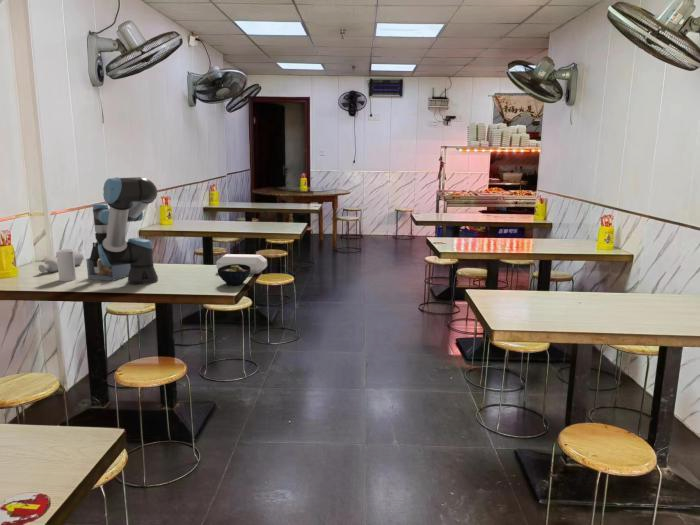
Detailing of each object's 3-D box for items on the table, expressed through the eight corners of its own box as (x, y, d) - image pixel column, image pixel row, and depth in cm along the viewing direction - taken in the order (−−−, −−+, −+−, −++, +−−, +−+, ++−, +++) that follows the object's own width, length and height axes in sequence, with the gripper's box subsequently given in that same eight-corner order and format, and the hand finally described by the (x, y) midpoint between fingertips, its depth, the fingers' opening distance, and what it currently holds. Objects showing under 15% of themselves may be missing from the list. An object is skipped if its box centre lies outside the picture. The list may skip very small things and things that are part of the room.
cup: (79, 277, 299) (76, 249, 296) (70, 281, 291) (67, 252, 288) (65, 277, 300) (62, 249, 296) (56, 281, 292) (52, 251, 288)
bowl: (213, 287, 280) (212, 268, 278) (225, 279, 297) (224, 261, 295) (245, 288, 278) (244, 269, 276) (255, 280, 294) (254, 262, 292)
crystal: (221, 252, 322) (268, 253, 320) (222, 268, 324) (268, 269, 322) (214, 257, 308) (262, 258, 306) (215, 274, 310) (263, 275, 308)
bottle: (70, 258, 335) (32, 270, 307) (75, 246, 333) (38, 257, 304) (81, 266, 335) (45, 279, 307) (87, 255, 332) (51, 267, 304)
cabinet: (86, 279, 296) (84, 259, 294) (110, 271, 315) (108, 252, 313) (111, 281, 292) (109, 261, 290) (134, 273, 311) (133, 254, 308)
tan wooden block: (118, 277, 301) (116, 259, 299) (112, 279, 296) (110, 261, 294) (99, 276, 304) (98, 258, 302) (93, 278, 299) (92, 260, 297)
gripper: (112, 228, 308) (115, 265, 312) (80, 235, 284) (83, 274, 289) (123, 229, 306) (126, 265, 310) (91, 235, 282) (95, 275, 287)
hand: (106, 270), depth 299 cm, fingers open, 13 cm apart
